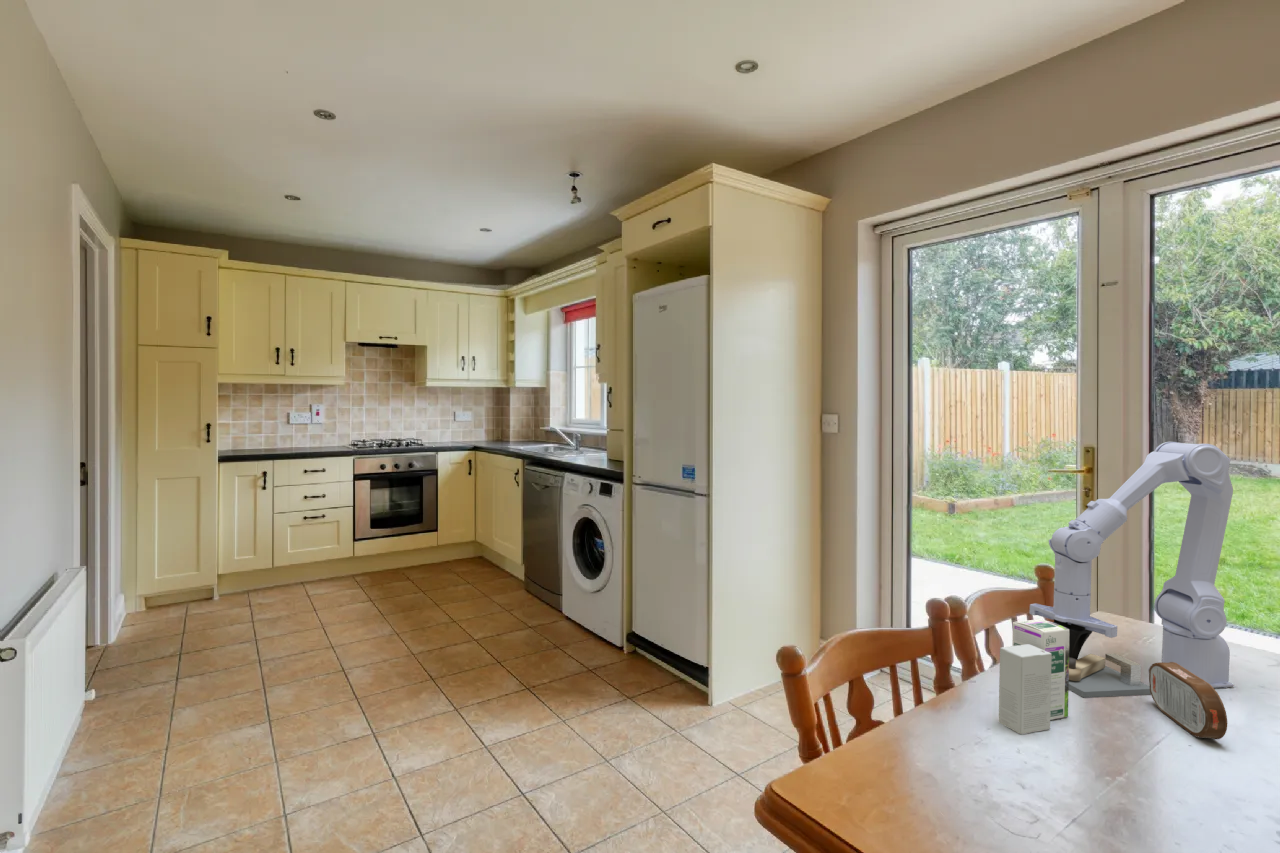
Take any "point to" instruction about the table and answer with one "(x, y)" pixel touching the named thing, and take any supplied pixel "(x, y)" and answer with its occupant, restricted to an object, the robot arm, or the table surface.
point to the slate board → (1106, 685)
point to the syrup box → (1057, 644)
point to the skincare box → (1025, 688)
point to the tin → (1188, 700)
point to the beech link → (1085, 666)
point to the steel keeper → (1126, 669)
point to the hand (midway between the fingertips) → (1069, 662)
